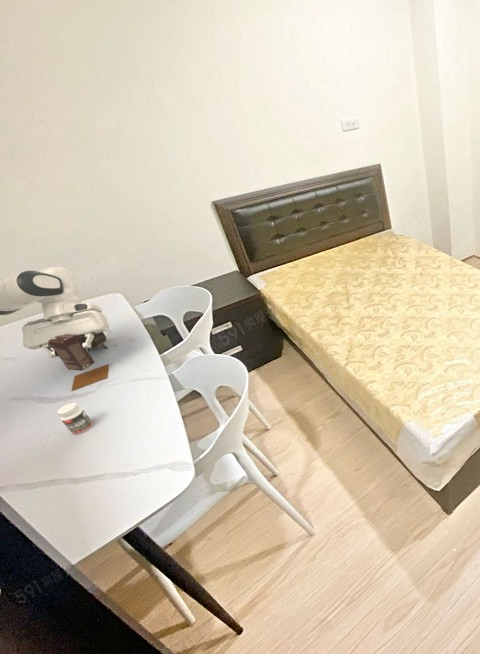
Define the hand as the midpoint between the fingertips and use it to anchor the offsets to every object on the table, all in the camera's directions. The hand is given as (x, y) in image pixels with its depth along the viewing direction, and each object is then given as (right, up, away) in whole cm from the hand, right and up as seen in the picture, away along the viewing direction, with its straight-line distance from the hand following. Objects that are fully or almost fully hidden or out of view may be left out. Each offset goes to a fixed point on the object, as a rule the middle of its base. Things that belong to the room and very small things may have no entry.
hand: (71, 352), depth 130 cm
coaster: (0, -10, +6) cm, 12 cm away
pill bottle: (+18, -20, -13) cm, 30 cm away
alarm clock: (-12, -3, +20) cm, 24 cm away
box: (0, -5, +4) cm, 7 cm away
